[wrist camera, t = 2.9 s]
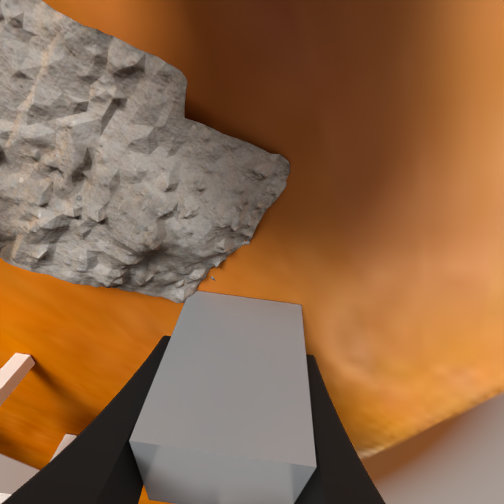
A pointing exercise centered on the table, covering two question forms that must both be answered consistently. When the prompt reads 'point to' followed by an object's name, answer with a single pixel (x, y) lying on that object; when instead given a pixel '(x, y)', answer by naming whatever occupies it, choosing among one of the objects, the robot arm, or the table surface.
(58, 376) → the table surface
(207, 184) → the stone fragment
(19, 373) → the miniature coffee table
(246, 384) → the stone block
